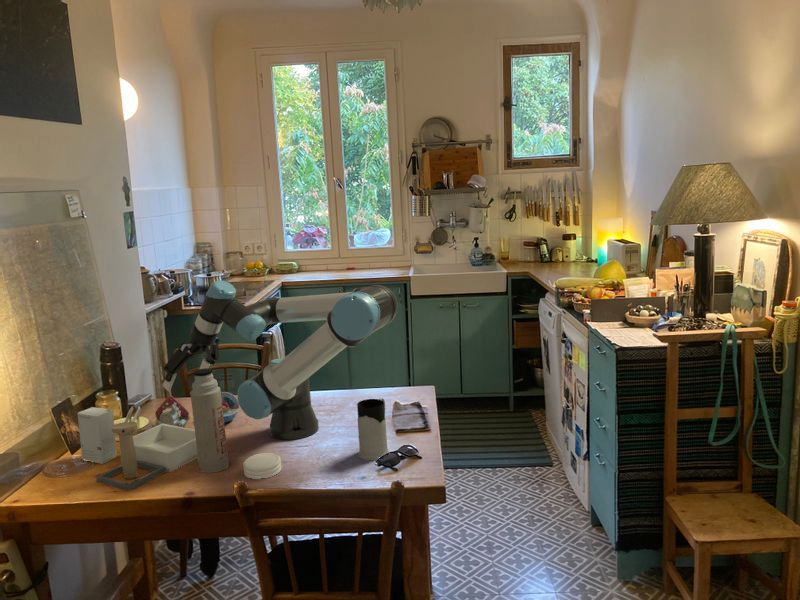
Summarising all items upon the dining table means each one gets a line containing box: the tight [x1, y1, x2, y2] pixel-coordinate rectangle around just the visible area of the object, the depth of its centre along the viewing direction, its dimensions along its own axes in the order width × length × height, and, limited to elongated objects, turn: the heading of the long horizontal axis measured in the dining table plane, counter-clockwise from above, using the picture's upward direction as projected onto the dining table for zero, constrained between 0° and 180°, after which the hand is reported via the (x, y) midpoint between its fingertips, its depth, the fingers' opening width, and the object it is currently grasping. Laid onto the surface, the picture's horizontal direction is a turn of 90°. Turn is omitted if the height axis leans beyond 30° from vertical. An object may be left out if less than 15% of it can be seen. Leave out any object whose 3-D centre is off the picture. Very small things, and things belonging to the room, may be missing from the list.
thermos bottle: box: [189, 368, 230, 474], centre depth 187 cm, size 8×8×28 cm
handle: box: [111, 421, 138, 480], centre depth 185 cm, size 5×6×15 cm
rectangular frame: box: [95, 461, 166, 492], centre depth 186 cm, size 13×12×2 cm
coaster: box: [243, 452, 282, 480], centre depth 185 cm, size 10×10×4 cm
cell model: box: [221, 391, 240, 424], centre depth 224 cm, size 10×12×10 cm
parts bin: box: [118, 424, 198, 473], centre depth 199 cm, size 20×16×6 cm
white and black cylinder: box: [356, 397, 390, 461], centre depth 194 cm, size 9×14×15 cm, turn 160°
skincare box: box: [77, 406, 118, 465], centre depth 198 cm, size 8×6×15 cm
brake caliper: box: [151, 395, 191, 428], centre depth 219 cm, size 11×11×12 cm
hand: (183, 383), depth 210 cm, fingers open, 13 cm apart
